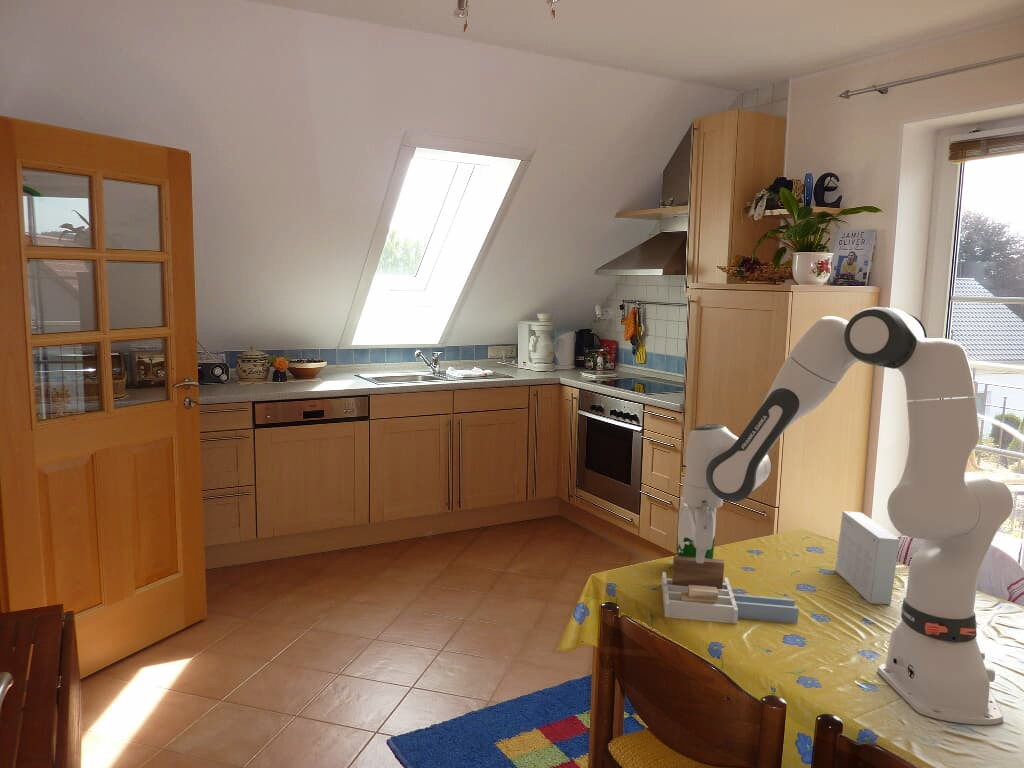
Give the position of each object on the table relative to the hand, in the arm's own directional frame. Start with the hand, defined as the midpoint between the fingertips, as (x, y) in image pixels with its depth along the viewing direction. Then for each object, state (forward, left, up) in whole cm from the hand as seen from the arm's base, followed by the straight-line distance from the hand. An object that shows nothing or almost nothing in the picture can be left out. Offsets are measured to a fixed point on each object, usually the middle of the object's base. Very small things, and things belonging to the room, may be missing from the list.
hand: (698, 554), depth 177 cm
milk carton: (+18, -1, -11) cm, 22 cm away
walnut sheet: (-1, 0, -10) cm, 10 cm away
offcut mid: (-9, 0, -8) cm, 12 cm away
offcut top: (-9, -1, -6) cm, 11 cm away
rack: (-4, 0, -11) cm, 12 cm away
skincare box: (+17, -41, -11) cm, 46 cm away
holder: (-7, -14, -11) cm, 19 cm away
